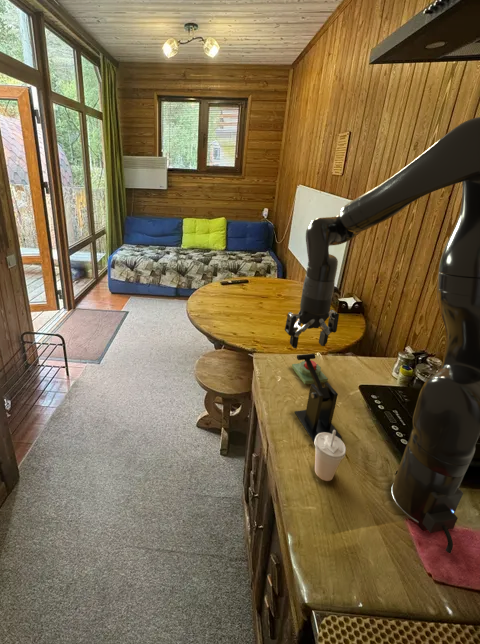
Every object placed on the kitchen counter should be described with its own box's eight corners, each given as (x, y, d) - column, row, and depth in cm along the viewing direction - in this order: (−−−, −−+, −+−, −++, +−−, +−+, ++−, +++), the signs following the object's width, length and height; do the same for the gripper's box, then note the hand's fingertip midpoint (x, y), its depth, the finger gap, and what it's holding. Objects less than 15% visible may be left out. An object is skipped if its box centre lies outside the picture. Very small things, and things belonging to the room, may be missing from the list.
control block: (327, 384, 100) (329, 374, 99) (304, 386, 99) (306, 376, 97) (312, 367, 109) (314, 357, 107) (291, 369, 107) (292, 359, 106)
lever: (295, 357, 89) (298, 353, 87) (311, 356, 89) (314, 351, 88) (314, 402, 79) (318, 398, 78) (332, 400, 80) (336, 396, 79)
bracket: (293, 414, 88) (300, 377, 83) (319, 411, 89) (327, 375, 85) (312, 444, 78) (320, 404, 74) (340, 440, 80) (350, 401, 75)
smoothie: (311, 487, 68) (322, 439, 63) (305, 460, 74) (314, 415, 69) (342, 491, 67) (354, 443, 62) (333, 464, 73) (344, 418, 68)
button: (318, 370, 101) (318, 366, 101) (308, 371, 100) (308, 367, 100) (312, 363, 104) (313, 359, 104) (302, 364, 104) (303, 360, 103)
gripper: (299, 300, 76) (290, 355, 82) (350, 297, 79) (338, 351, 84) (285, 288, 83) (278, 340, 89) (333, 286, 86) (323, 336, 91)
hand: (307, 345), depth 86 cm, fingers open, 8 cm apart
